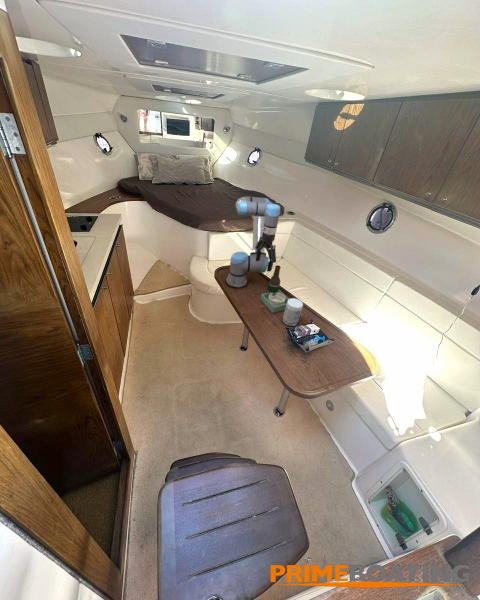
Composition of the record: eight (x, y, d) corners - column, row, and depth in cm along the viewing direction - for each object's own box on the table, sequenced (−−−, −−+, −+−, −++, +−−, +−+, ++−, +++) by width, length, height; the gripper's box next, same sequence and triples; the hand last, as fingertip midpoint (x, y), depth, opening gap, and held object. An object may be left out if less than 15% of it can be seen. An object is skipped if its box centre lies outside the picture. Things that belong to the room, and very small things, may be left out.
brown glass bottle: (277, 299, 173) (284, 269, 159) (266, 298, 173) (272, 268, 159) (276, 293, 180) (283, 263, 165) (265, 292, 179) (271, 262, 165)
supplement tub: (294, 328, 151) (300, 310, 143) (280, 322, 155) (285, 304, 146) (299, 320, 158) (305, 301, 150) (285, 314, 162) (290, 296, 153)
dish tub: (260, 299, 172) (261, 294, 169) (278, 295, 178) (279, 290, 175) (272, 312, 161) (273, 307, 159) (291, 307, 168) (292, 302, 165)
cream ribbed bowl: (264, 299, 171) (265, 293, 168) (277, 296, 176) (279, 290, 173) (273, 309, 163) (274, 303, 160) (287, 306, 168) (288, 300, 165)
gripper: (252, 225, 150) (248, 257, 162) (275, 242, 132) (268, 276, 145) (263, 224, 153) (258, 255, 165) (287, 241, 136) (279, 274, 148)
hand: (263, 265), depth 155 cm, fingers open, 13 cm apart
